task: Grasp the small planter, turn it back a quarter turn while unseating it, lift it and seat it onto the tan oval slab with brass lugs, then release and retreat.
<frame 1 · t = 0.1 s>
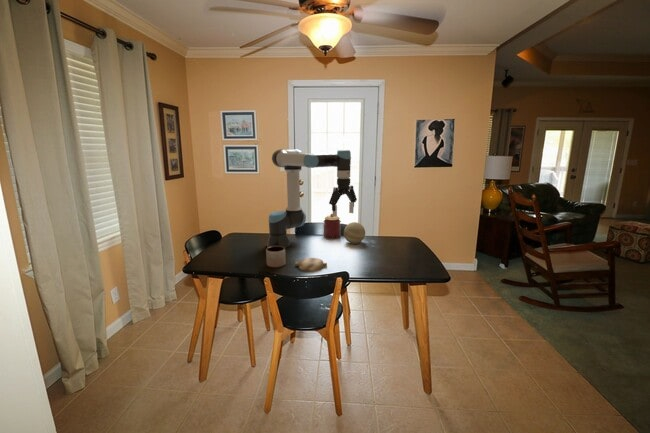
hand: (343, 214, 178), 28 cm above the table, fingers open, 13 cm apart
canister: (332, 236, 233), on the table
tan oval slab: (311, 266, 175), on the table
planter: (276, 264, 178), on the table
decorative ball: (354, 243, 217), on the table
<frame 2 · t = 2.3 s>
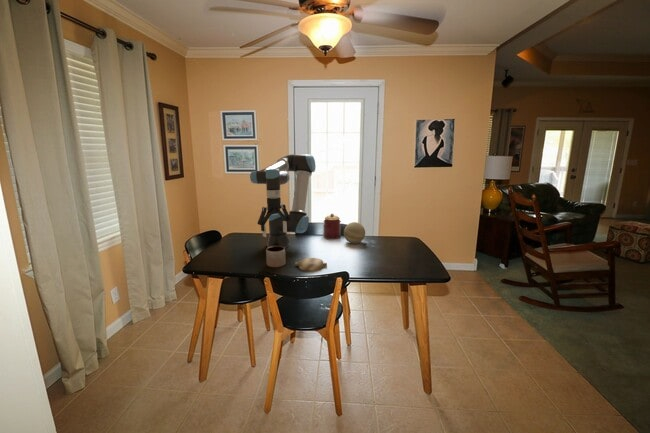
hand: (275, 234, 174), 18 cm above the table, fingers open, 13 cm apart
nothing on the table moved.
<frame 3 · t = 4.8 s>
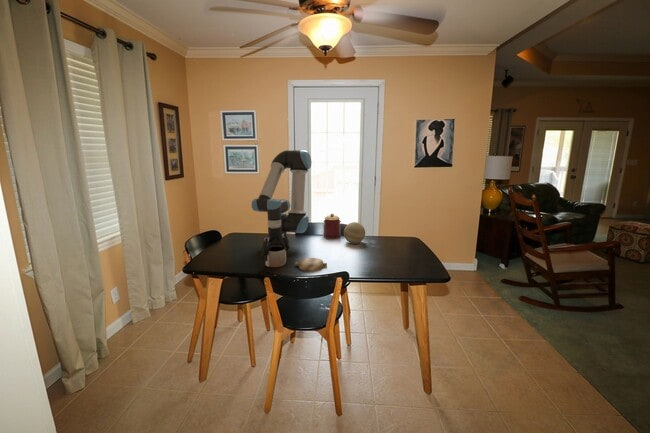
hand: (276, 263, 178), 1 cm above the table, fingers closed on planter, 11 cm apart
planter: (276, 264, 178), on the table, touching gripper
everything else where it was.
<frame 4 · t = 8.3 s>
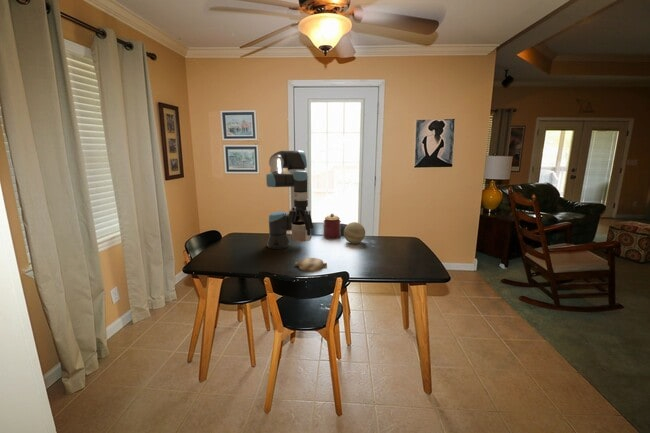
hand: (301, 238, 171), 16 cm above the table, fingers closed on planter, 11 cm apart
planter: (301, 239, 171), point 16 cm above the table, touching gripper
everything else where it was.
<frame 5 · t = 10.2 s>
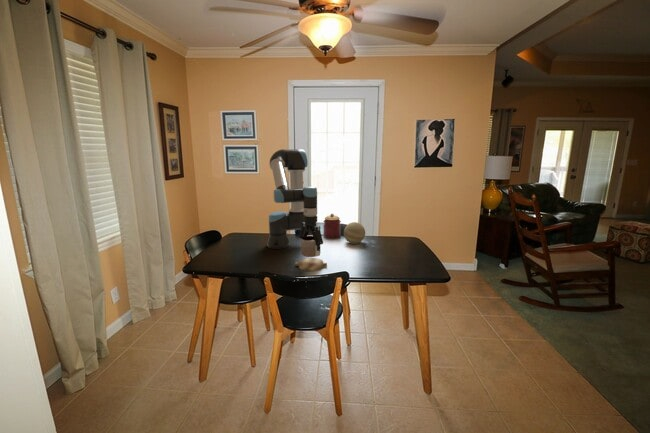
hand: (310, 253, 173), 8 cm above the table, fingers closed on planter, 11 cm apart
planter: (310, 254, 173), point 7 cm above the table, touching gripper
everything else where it was.
when the fingers open (4 cm above the table, at t = 11.9 s): planter drops 1 cm, resting on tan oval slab.
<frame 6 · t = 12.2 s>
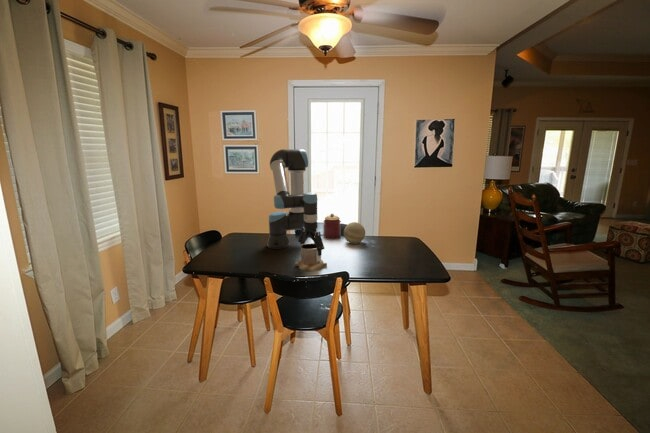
hand: (310, 257, 173), 5 cm above the table, fingers open, 13 cm apart
planter: (310, 262, 174), point 2 cm above the table, touching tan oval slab
everything else where it was.
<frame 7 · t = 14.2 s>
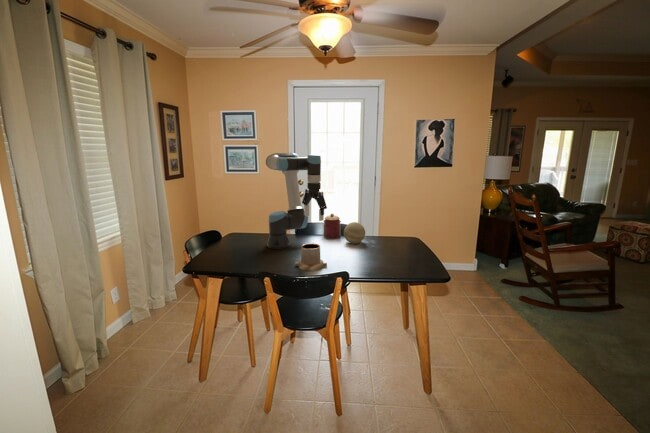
hand: (313, 218, 181), 25 cm above the table, fingers open, 13 cm apart
nothing on the table moved.
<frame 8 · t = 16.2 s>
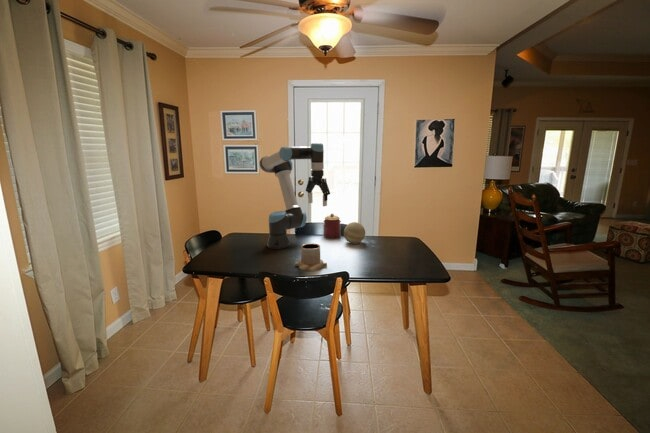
hand: (317, 204, 189), 32 cm above the table, fingers open, 13 cm apart
nothing on the table moved.
at the end: planter inside the target area on the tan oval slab (0.1 cm from its centre), point 2.3 cm above the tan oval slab's base; planter tilted 0°; the gripper is holding nothing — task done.
